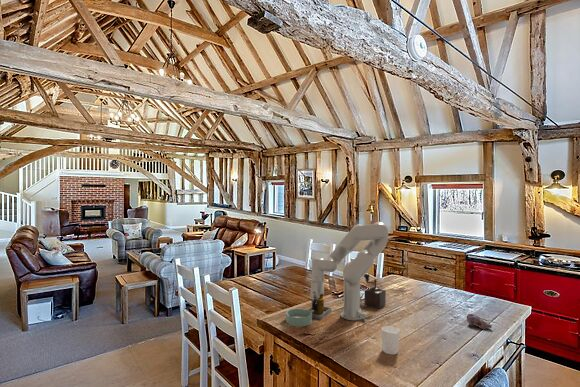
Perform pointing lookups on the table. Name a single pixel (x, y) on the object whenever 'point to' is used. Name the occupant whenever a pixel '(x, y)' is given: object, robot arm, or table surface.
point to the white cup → (390, 339)
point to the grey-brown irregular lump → (477, 321)
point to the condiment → (319, 306)
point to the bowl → (299, 317)
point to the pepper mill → (374, 295)
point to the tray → (322, 314)
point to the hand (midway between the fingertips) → (317, 307)
